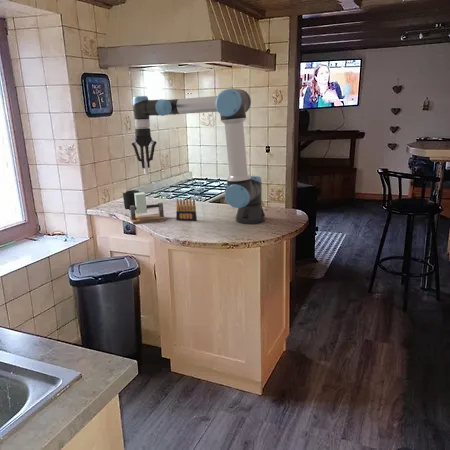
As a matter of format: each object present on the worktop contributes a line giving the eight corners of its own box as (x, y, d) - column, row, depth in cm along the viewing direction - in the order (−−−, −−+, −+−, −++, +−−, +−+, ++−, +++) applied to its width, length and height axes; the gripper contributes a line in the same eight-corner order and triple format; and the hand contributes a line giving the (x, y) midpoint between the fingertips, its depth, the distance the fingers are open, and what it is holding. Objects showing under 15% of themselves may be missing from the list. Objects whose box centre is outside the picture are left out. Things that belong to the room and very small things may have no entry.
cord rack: (165, 220, 228) (164, 205, 225) (133, 224, 222) (132, 208, 220) (161, 215, 239) (159, 200, 236) (130, 218, 233) (128, 204, 231)
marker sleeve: (146, 212, 227) (145, 193, 224) (137, 213, 225) (135, 194, 222) (145, 210, 231) (143, 192, 228) (135, 211, 230) (134, 193, 227)
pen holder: (142, 208, 255) (140, 192, 253) (126, 210, 251) (124, 194, 248) (137, 205, 263) (136, 189, 261) (122, 207, 259) (120, 191, 257)
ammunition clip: (176, 220, 227) (175, 198, 224) (177, 219, 228) (176, 197, 225) (195, 221, 224) (194, 198, 221) (196, 220, 226) (195, 197, 223)
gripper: (153, 127, 223) (157, 172, 230) (128, 128, 219) (132, 174, 225) (156, 127, 217) (160, 174, 223) (130, 128, 212) (134, 176, 219)
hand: (146, 174), depth 224 cm, fingers closed
